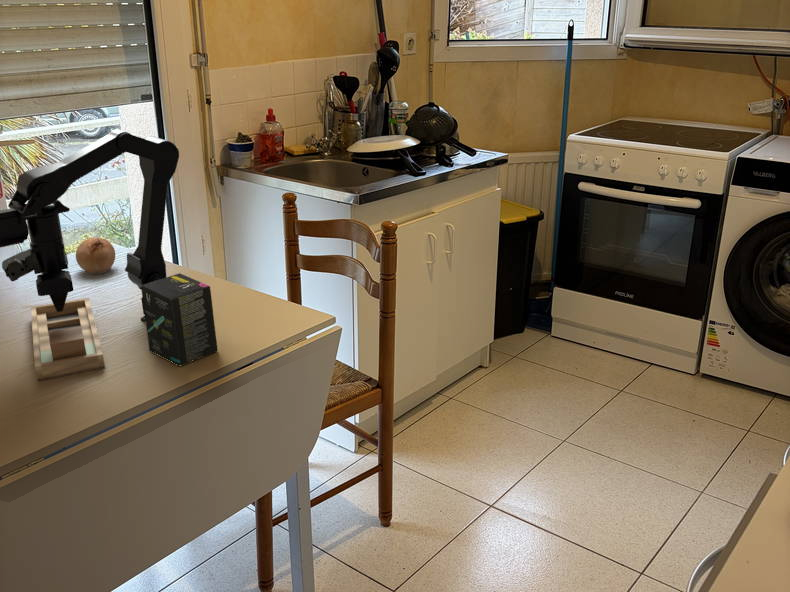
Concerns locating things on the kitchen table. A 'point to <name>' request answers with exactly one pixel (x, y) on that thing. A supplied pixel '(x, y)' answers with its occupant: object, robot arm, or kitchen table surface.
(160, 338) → the tampon box
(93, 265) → the onion
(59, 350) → the walnut block
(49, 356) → the sage pad
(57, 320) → the oak tray
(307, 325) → the kitchen table surface
